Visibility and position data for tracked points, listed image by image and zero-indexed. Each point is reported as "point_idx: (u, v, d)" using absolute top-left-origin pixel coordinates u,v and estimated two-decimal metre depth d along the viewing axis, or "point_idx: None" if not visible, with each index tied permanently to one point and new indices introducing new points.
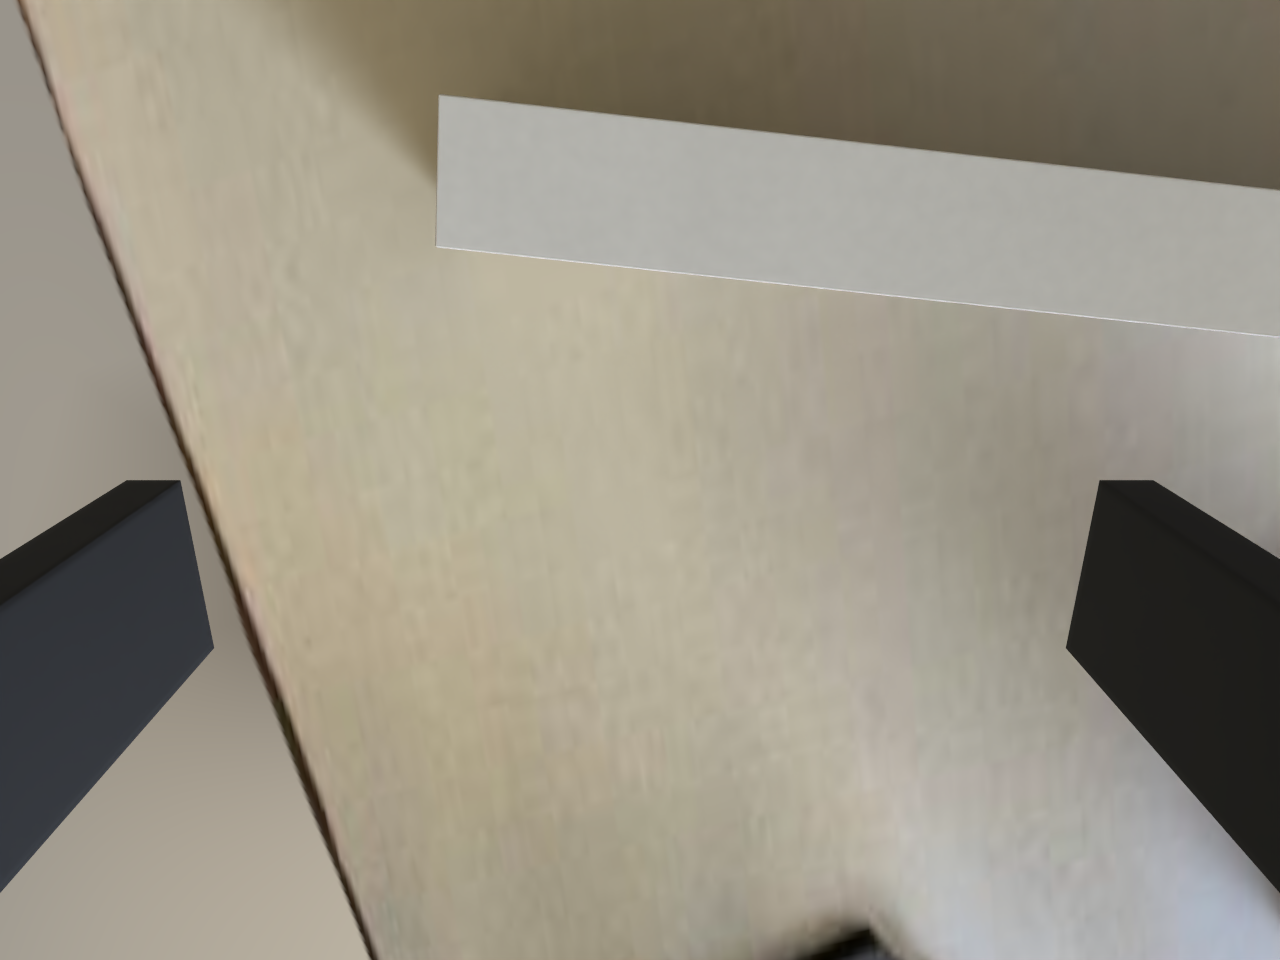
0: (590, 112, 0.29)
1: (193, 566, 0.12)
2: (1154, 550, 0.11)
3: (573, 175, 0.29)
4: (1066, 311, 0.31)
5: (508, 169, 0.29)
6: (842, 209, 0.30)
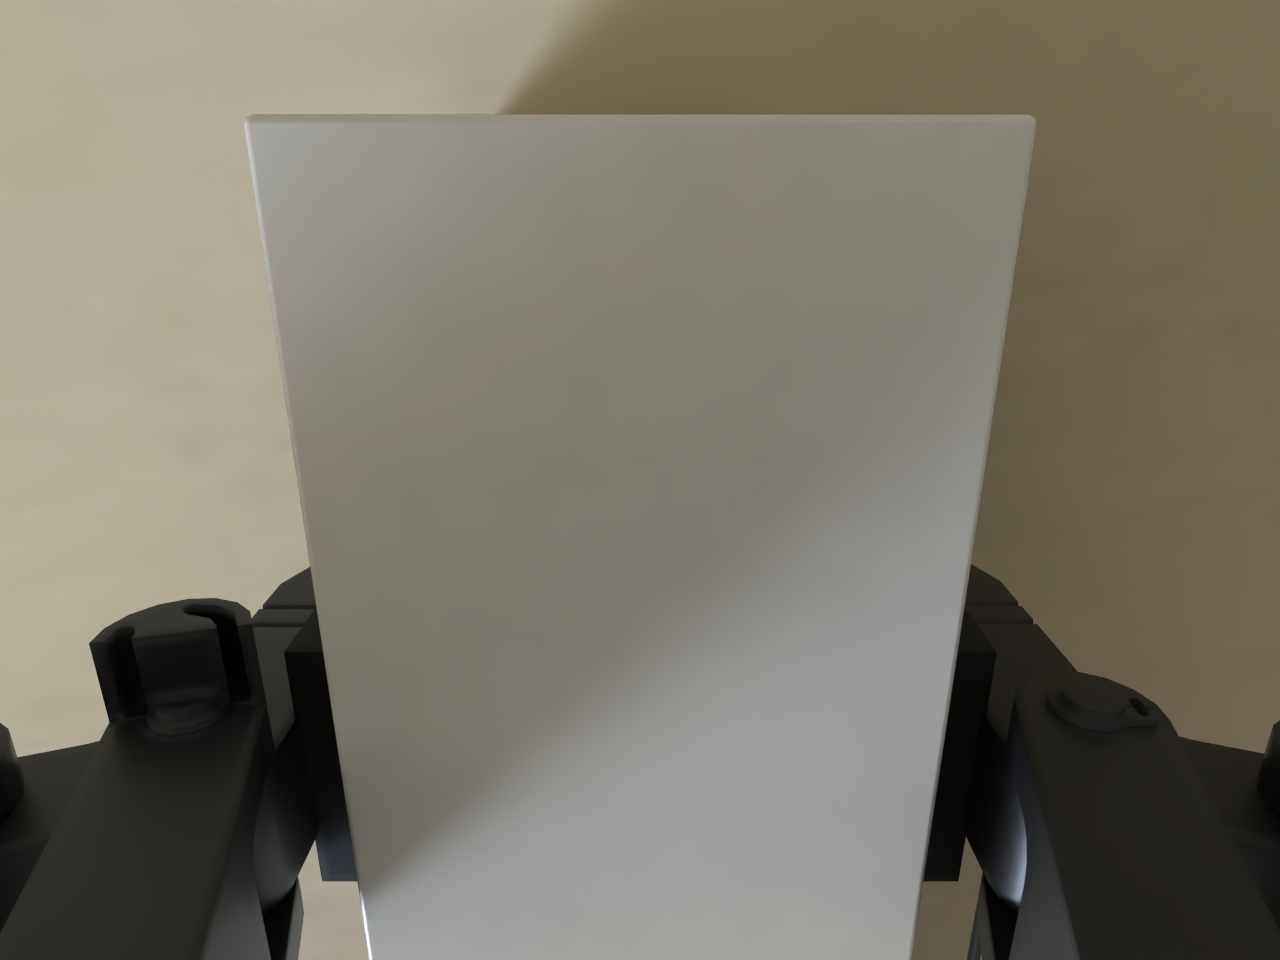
0: (934, 780, 0.07)
1: None
2: None
3: (689, 742, 0.07)
4: None
5: (692, 484, 0.06)
6: None
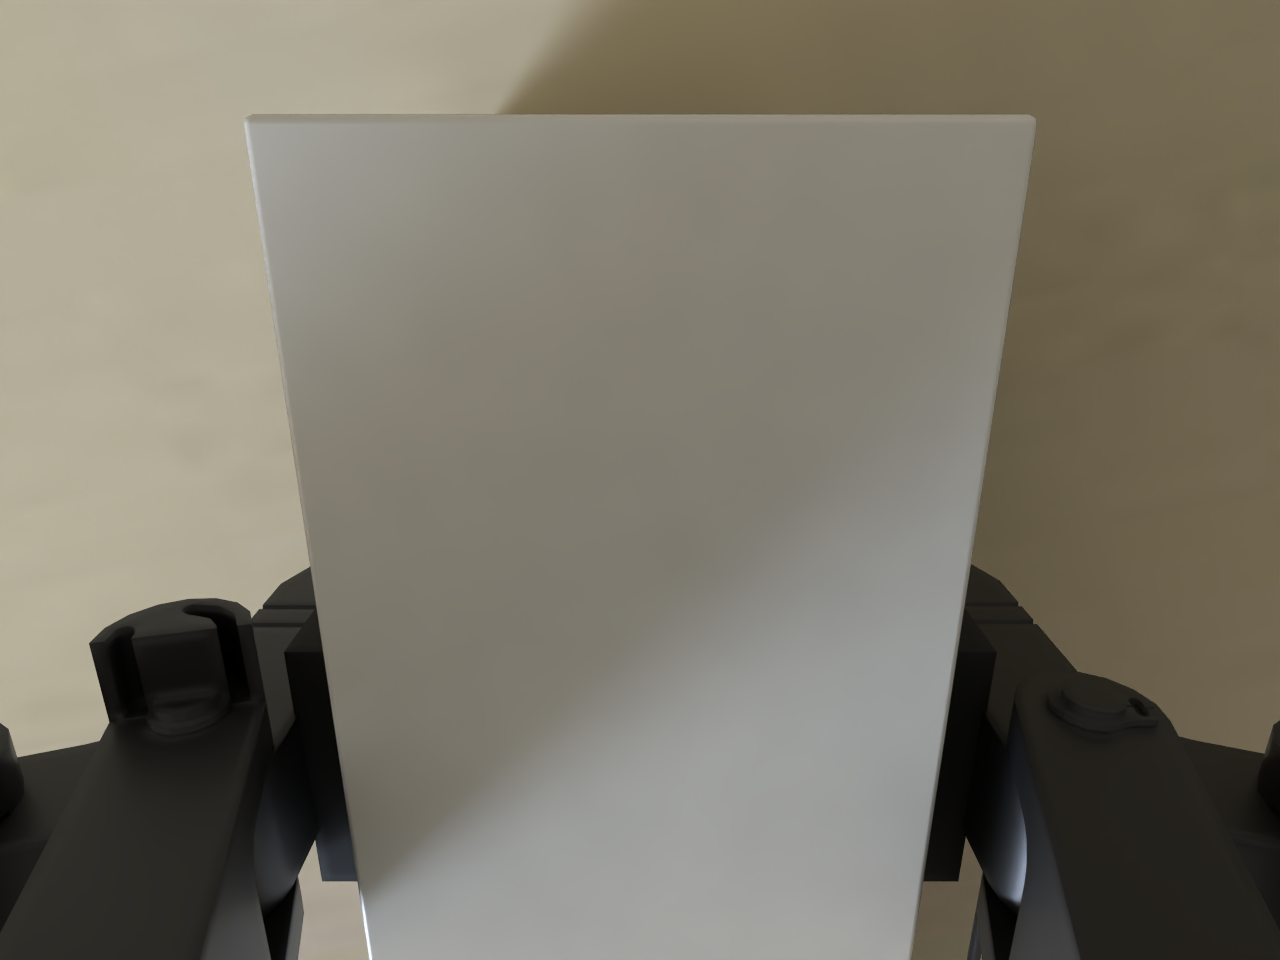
0: (934, 780, 0.07)
1: None
2: None
3: (689, 742, 0.07)
4: None
5: (692, 484, 0.06)
6: None
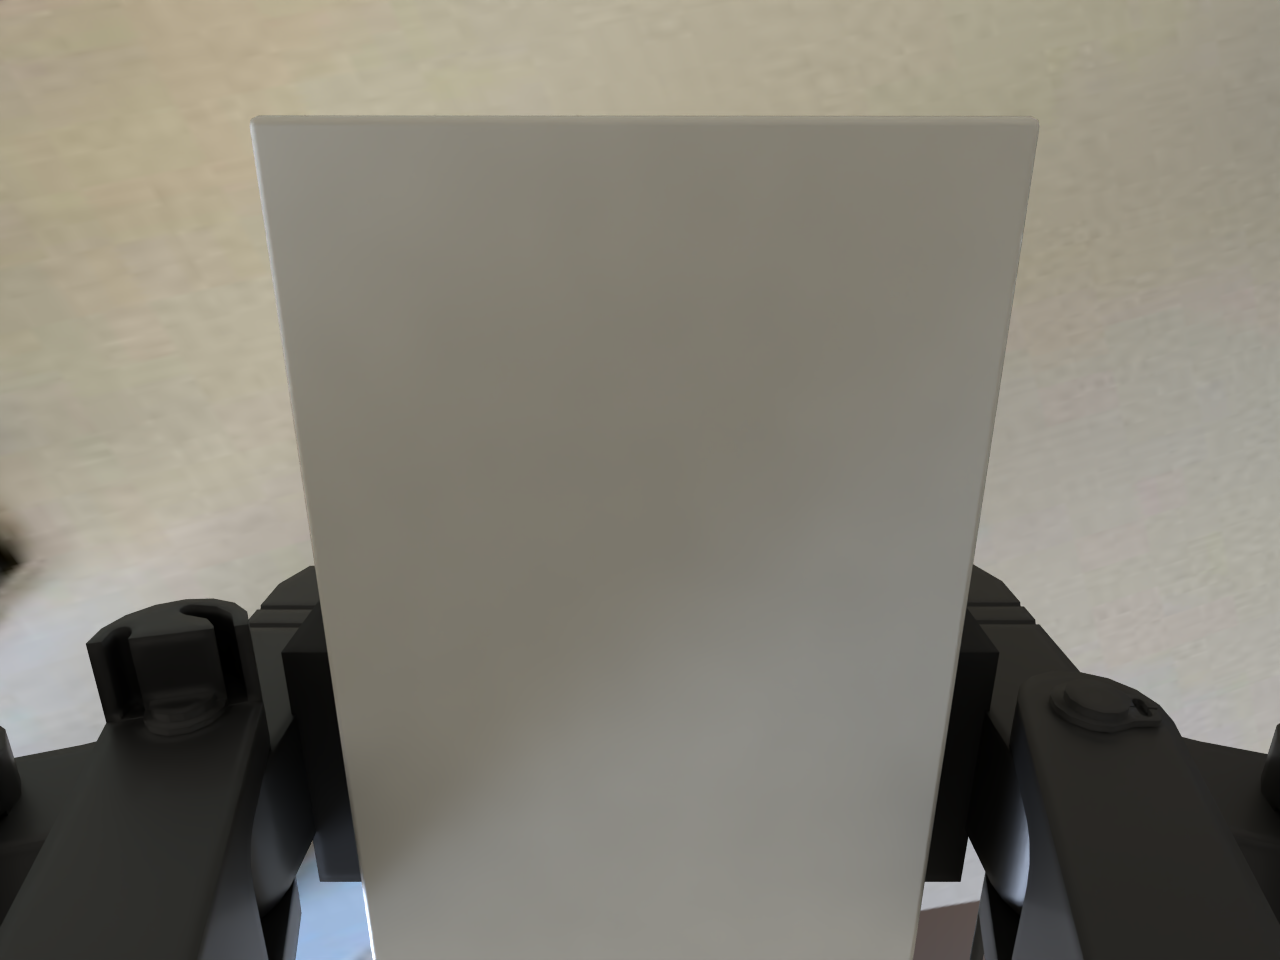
0: (937, 777, 0.07)
1: None
2: None
3: (693, 741, 0.07)
4: None
5: (696, 484, 0.06)
6: None
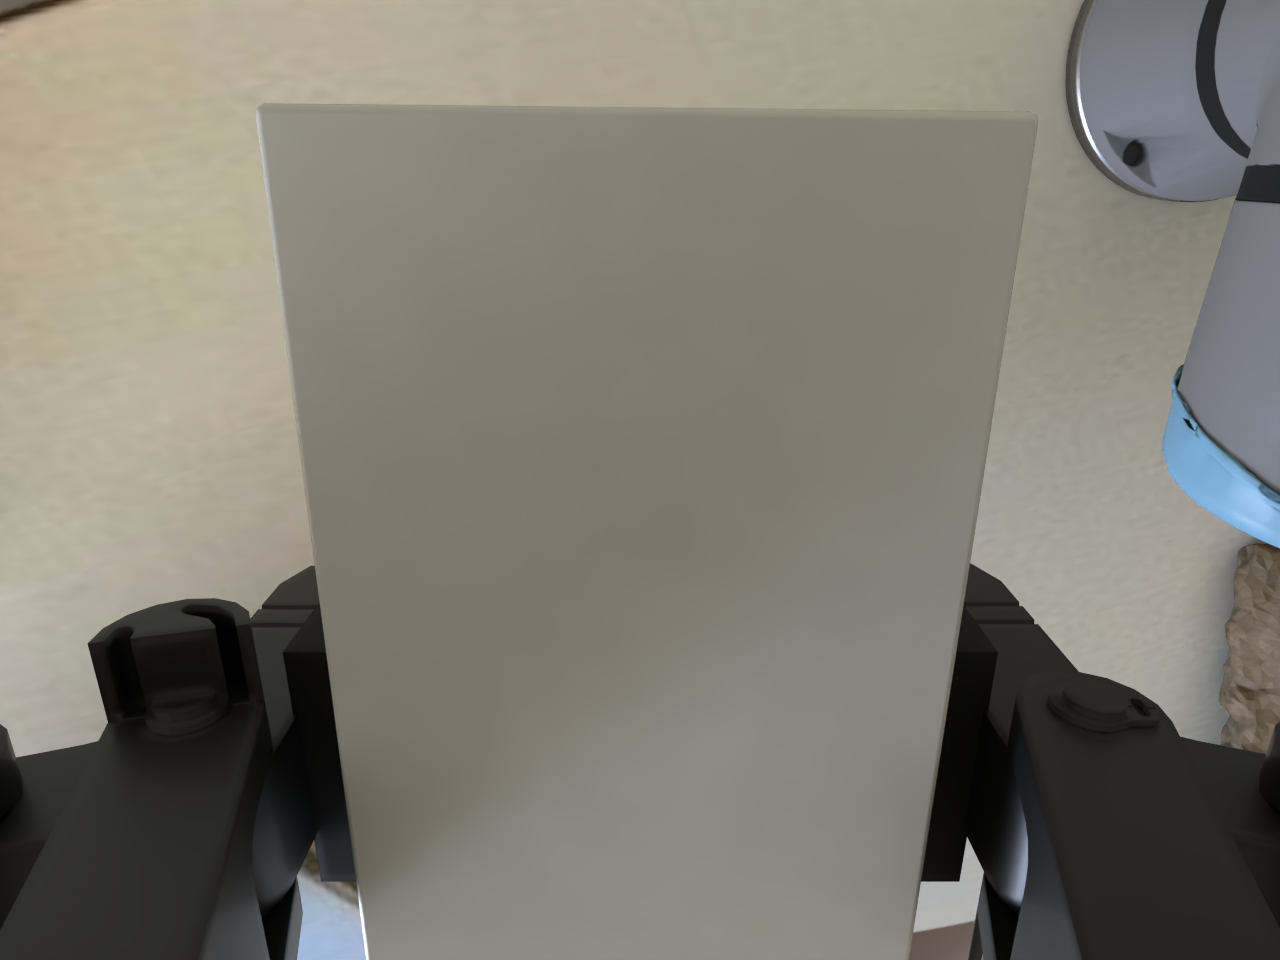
0: (933, 776, 0.07)
1: None
2: None
3: (690, 734, 0.07)
4: None
5: (696, 475, 0.06)
6: None
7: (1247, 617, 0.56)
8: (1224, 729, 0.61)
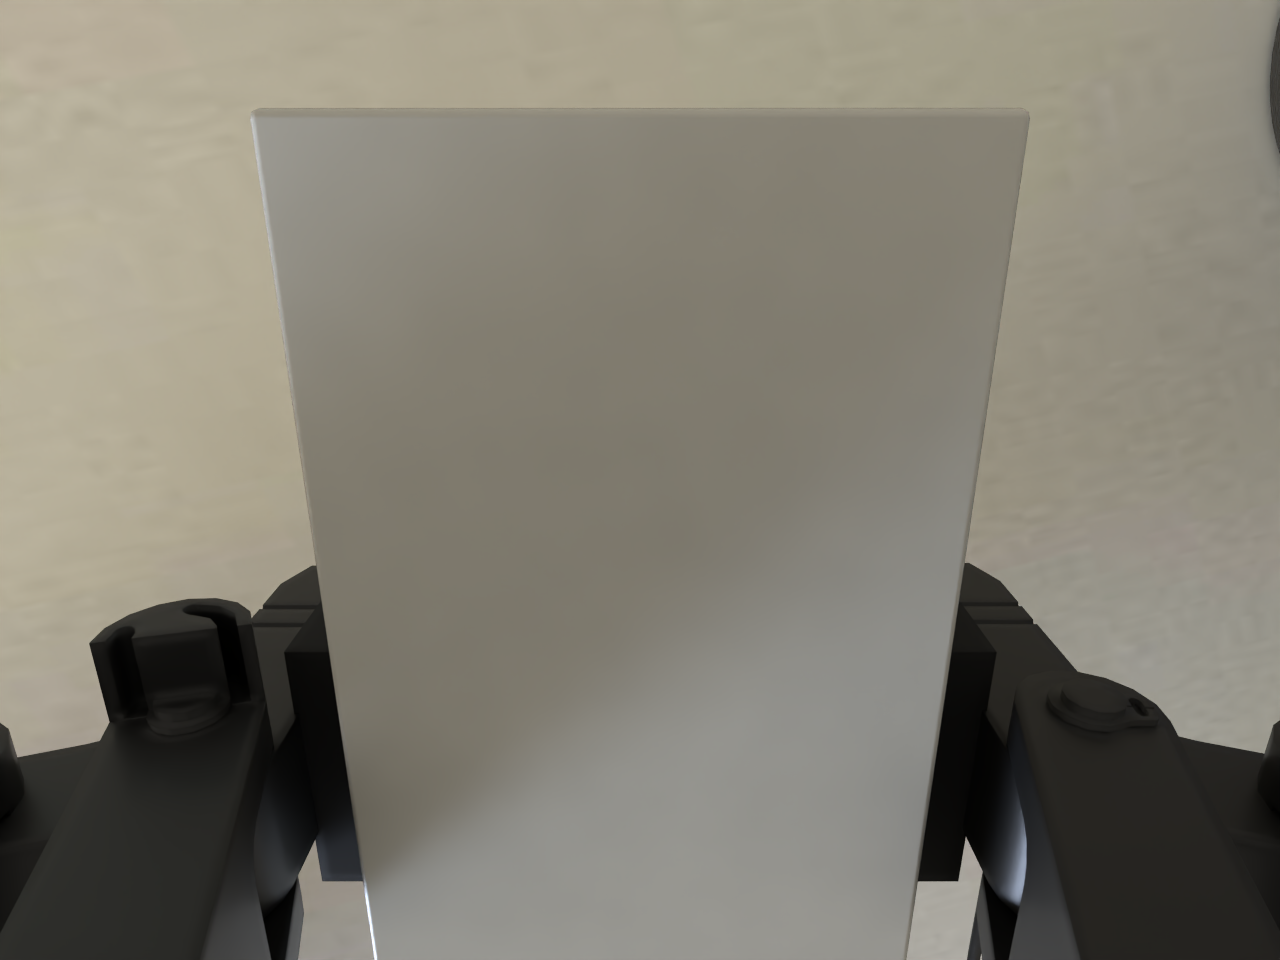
0: (931, 767, 0.07)
1: None
2: None
3: (688, 729, 0.07)
4: None
5: (691, 473, 0.06)
6: None
7: None
8: None
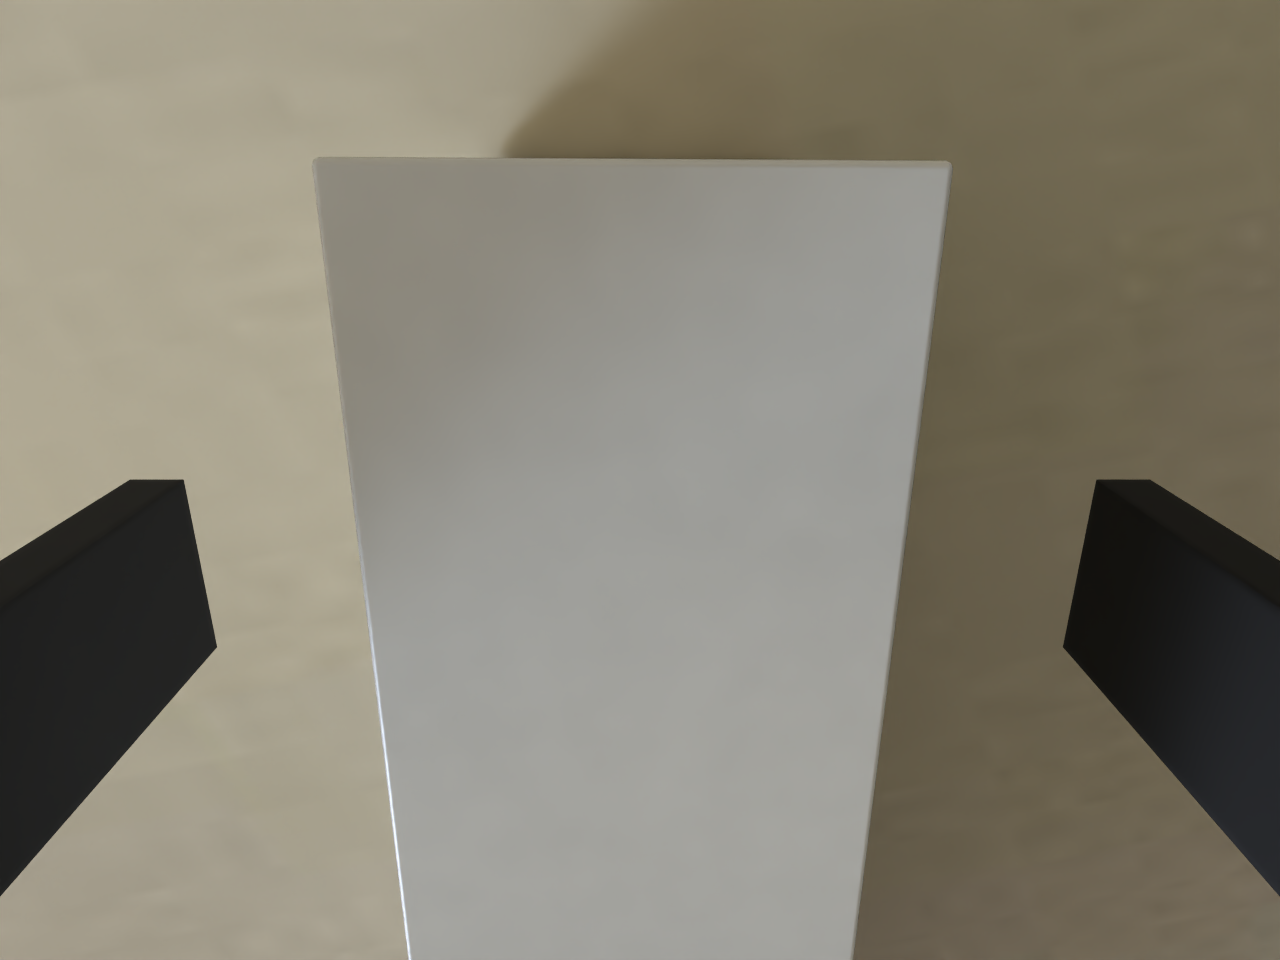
0: (880, 714, 0.08)
1: (197, 565, 0.12)
2: (1150, 549, 0.11)
3: (673, 679, 0.08)
4: None
5: (675, 460, 0.07)
6: None
7: None
8: None
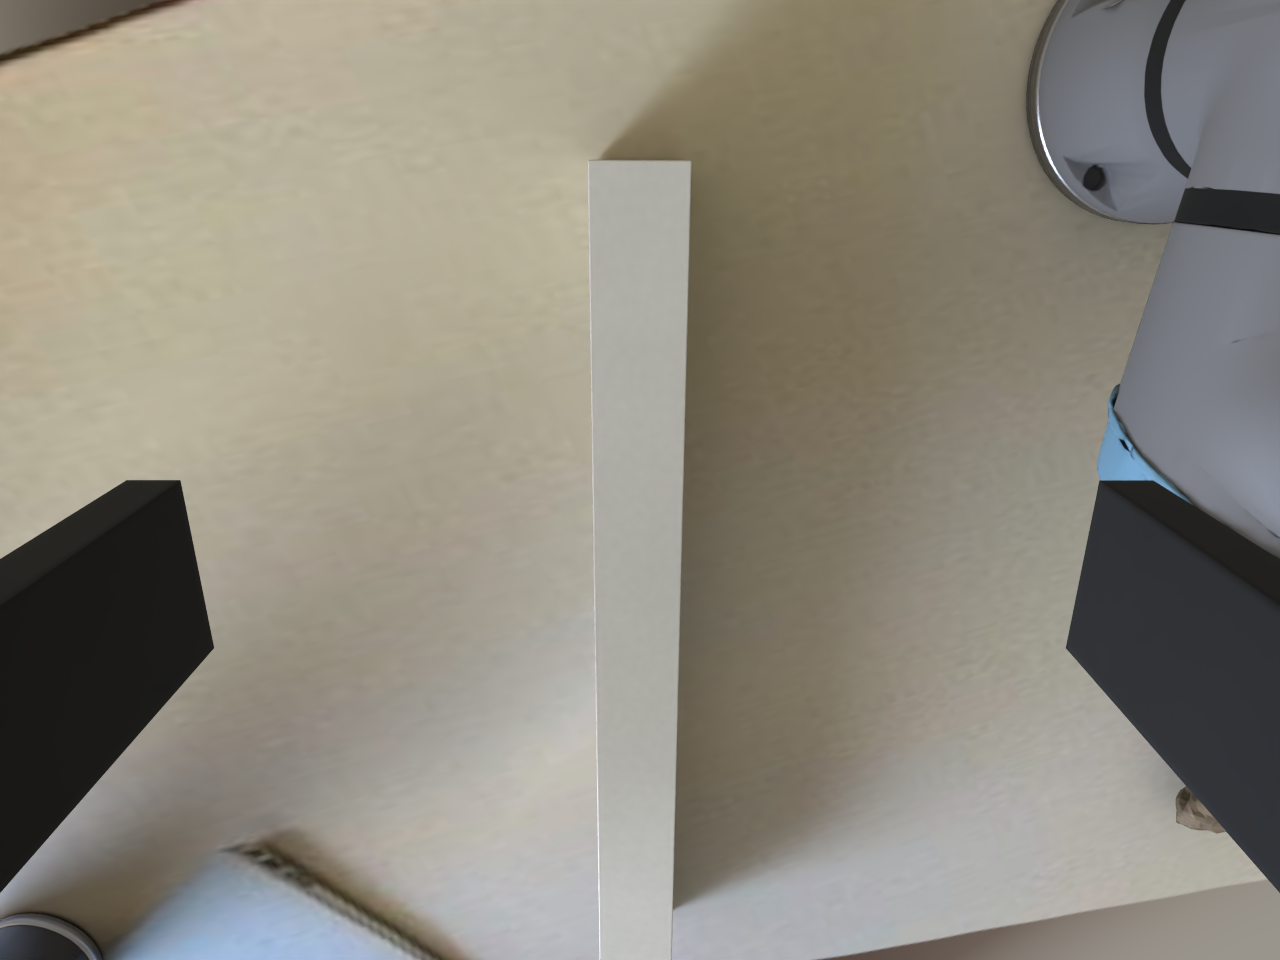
0: (688, 269, 0.43)
1: (193, 566, 0.12)
2: (1154, 550, 0.11)
3: (647, 260, 0.43)
4: (596, 585, 0.49)
5: (647, 213, 0.42)
6: (643, 440, 0.46)
7: None
8: None
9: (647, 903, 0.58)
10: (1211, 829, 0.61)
